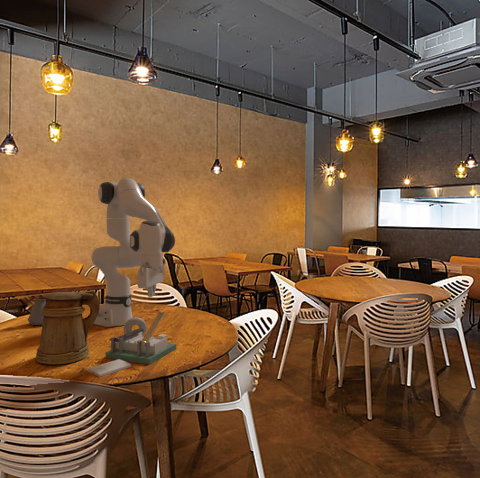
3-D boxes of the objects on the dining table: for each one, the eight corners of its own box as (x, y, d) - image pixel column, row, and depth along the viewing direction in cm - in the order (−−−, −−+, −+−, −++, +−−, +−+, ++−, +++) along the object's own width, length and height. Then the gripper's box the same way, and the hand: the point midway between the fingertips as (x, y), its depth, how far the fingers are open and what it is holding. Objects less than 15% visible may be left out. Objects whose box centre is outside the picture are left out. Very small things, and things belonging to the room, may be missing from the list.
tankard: (31, 355, 159) (29, 292, 157) (92, 344, 173) (91, 285, 171) (41, 369, 144) (40, 299, 143) (107, 356, 159) (106, 292, 157)
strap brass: (141, 346, 153) (139, 343, 152) (160, 314, 165) (158, 311, 164) (146, 347, 152) (144, 344, 151) (165, 315, 164) (163, 311, 163)
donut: (124, 342, 176) (124, 319, 175) (123, 340, 179) (122, 317, 178) (147, 339, 180) (147, 317, 180) (145, 337, 183) (145, 315, 183)
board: (105, 357, 157) (105, 338, 157) (135, 343, 175) (135, 325, 174) (149, 364, 150) (149, 344, 149) (176, 348, 167) (176, 330, 167)
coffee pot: (30, 328, 197) (29, 297, 196) (26, 323, 206) (25, 293, 206) (76, 321, 210) (75, 292, 209) (70, 317, 219) (70, 289, 218)
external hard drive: (131, 368, 148) (99, 378, 138) (118, 362, 153) (87, 372, 144) (131, 363, 147) (99, 373, 138) (118, 358, 153) (87, 367, 143)
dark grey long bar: (113, 343, 157) (113, 338, 157) (138, 332, 172) (138, 327, 172) (118, 344, 156) (118, 339, 156) (143, 333, 171) (143, 328, 171)
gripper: (149, 264, 152) (149, 301, 153) (166, 259, 172) (167, 292, 173) (132, 264, 153) (133, 300, 153) (152, 259, 173) (153, 292, 174)
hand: (151, 296), depth 163 cm, fingers closed
